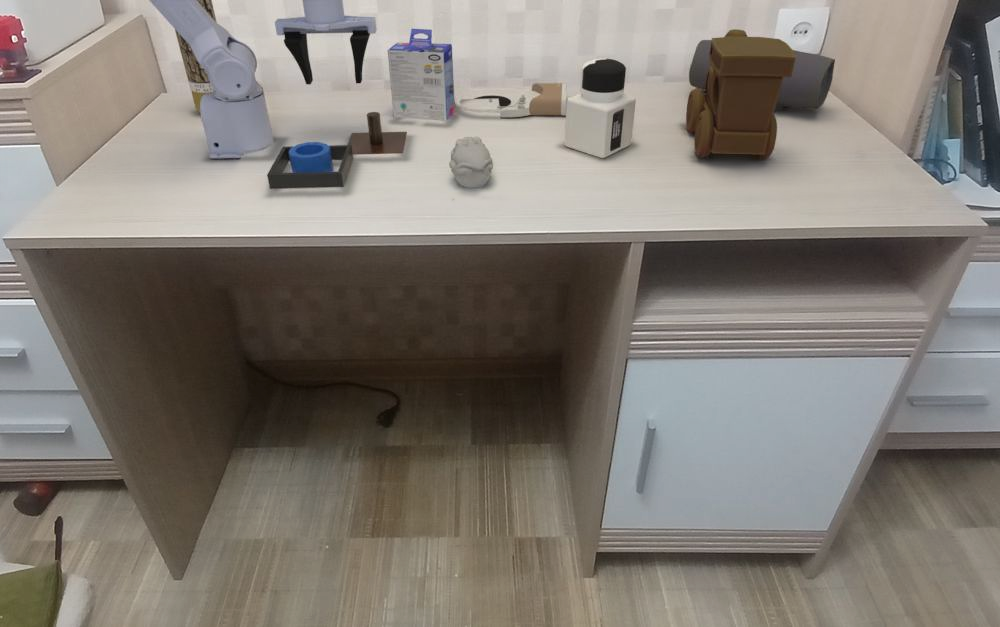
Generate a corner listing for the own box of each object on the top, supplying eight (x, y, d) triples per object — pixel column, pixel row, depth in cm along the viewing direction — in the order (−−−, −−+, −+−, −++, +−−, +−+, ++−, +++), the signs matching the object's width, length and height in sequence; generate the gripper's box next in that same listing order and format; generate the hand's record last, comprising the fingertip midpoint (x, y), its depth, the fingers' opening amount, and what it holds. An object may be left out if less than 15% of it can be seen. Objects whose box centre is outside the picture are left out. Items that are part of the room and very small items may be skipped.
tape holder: (344, 160, 108) (339, 125, 104) (352, 138, 115) (347, 104, 112) (403, 159, 108) (400, 123, 105) (407, 137, 115) (404, 103, 112)
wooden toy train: (776, 172, 103) (804, 55, 93) (697, 170, 104) (716, 54, 94) (749, 123, 119) (770, 19, 109) (680, 121, 120) (695, 18, 110)
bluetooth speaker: (683, 99, 129) (691, 42, 123) (702, 85, 135) (711, 31, 130) (810, 123, 119) (826, 63, 113) (825, 108, 125) (840, 49, 119)
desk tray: (271, 194, 98) (266, 174, 96) (286, 165, 106) (282, 146, 105) (344, 193, 98) (341, 173, 97) (354, 163, 107) (351, 144, 105)
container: (632, 145, 112) (640, 61, 104) (603, 159, 107) (610, 73, 100) (592, 133, 116) (598, 51, 108) (563, 146, 111) (567, 62, 104)
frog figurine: (484, 174, 103) (483, 128, 99) (501, 193, 98) (500, 145, 94) (444, 180, 101) (441, 134, 97) (459, 200, 96) (457, 152, 92)
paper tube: (244, 107, 128) (210, -46, 113) (213, 118, 123) (174, -39, 109) (219, 101, 131) (183, -49, 116) (188, 111, 126) (146, -43, 112)
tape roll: (290, 184, 100) (285, 157, 97) (298, 168, 104) (293, 142, 102) (330, 183, 100) (326, 156, 98) (336, 167, 104) (332, 141, 102)
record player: (566, 101, 119) (449, 100, 121) (565, 119, 121) (450, 118, 123) (566, 80, 129) (458, 79, 130) (565, 97, 131) (459, 96, 132)
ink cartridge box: (456, 115, 124) (452, 28, 115) (448, 126, 119) (444, 37, 111) (403, 111, 125) (395, 26, 117) (393, 122, 121) (384, 34, 112)
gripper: (263, -7, 98) (281, 91, 106) (368, -9, 98) (378, 89, 106) (274, -17, 104) (291, 76, 111) (373, -18, 104) (383, 74, 112)
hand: (334, 82), depth 109 cm, fingers open, 7 cm apart
